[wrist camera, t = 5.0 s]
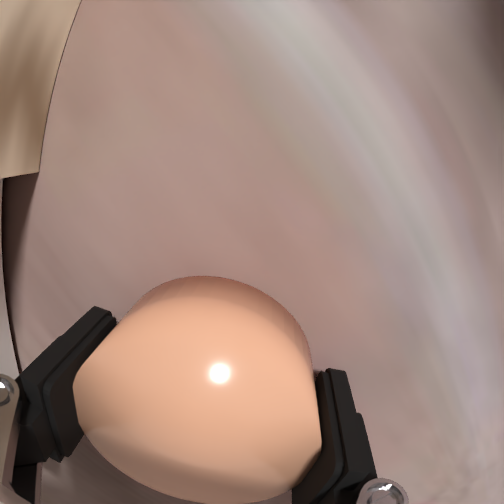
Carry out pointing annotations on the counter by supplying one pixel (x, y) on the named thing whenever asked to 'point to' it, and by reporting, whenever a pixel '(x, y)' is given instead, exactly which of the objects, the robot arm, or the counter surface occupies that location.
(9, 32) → the cabinet
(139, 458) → the glossy peach ball
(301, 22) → the counter surface
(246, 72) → the counter surface
